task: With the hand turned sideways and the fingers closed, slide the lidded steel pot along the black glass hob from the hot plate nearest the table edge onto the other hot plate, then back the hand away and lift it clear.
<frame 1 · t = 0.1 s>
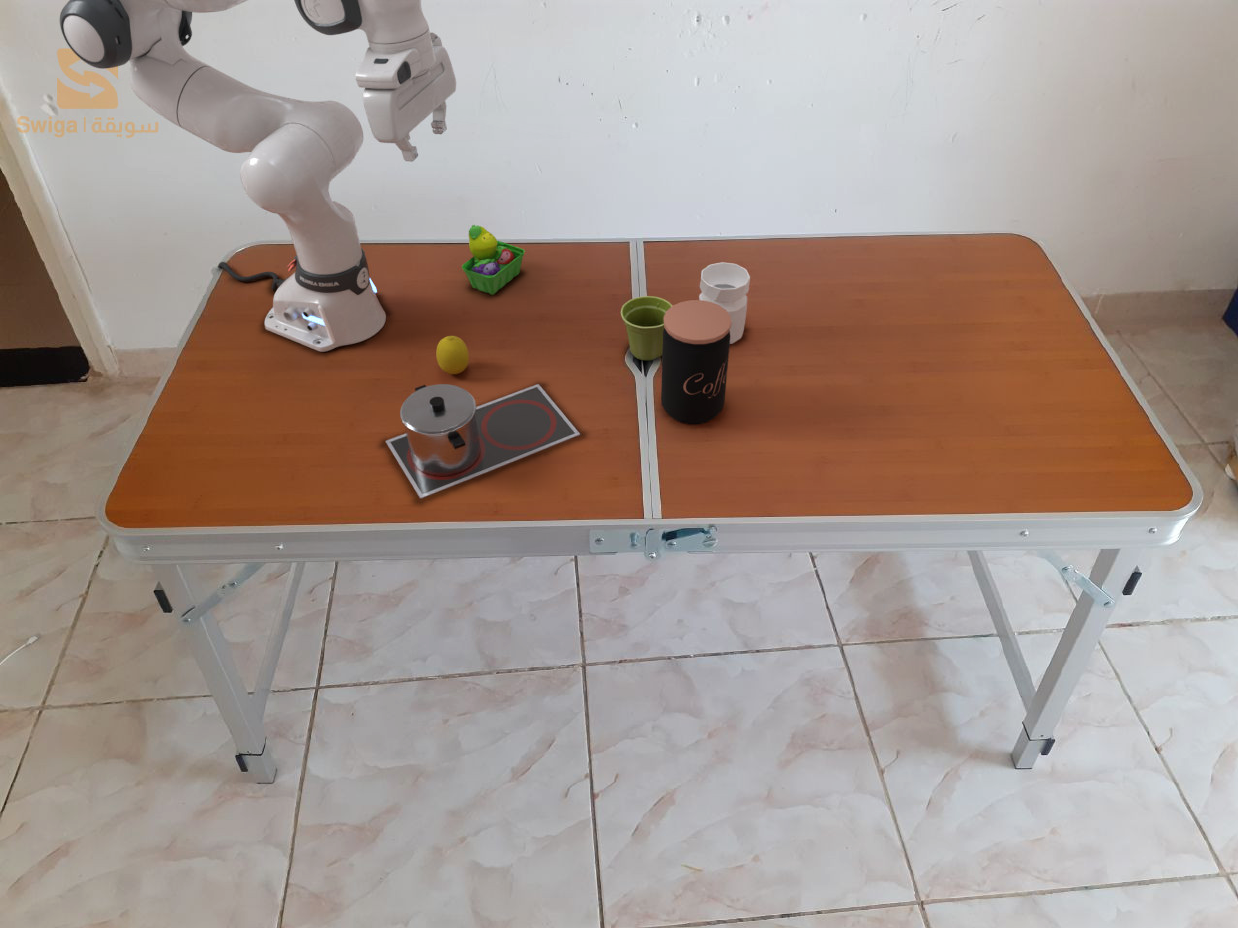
hand: (426, 145, 147), 39 cm above the table, tool pointing down, fingers open, 8 cm apart
lemon: (455, 374, 169), on the table
plant pot: (647, 351, 173), on the table
fruit basket: (493, 280, 190), on the table
hob: (483, 439, 156), on the table
vase: (720, 332, 177), on the table
coffee jar: (692, 407, 162), on the table
steel pot: (446, 452, 154), resting on hob
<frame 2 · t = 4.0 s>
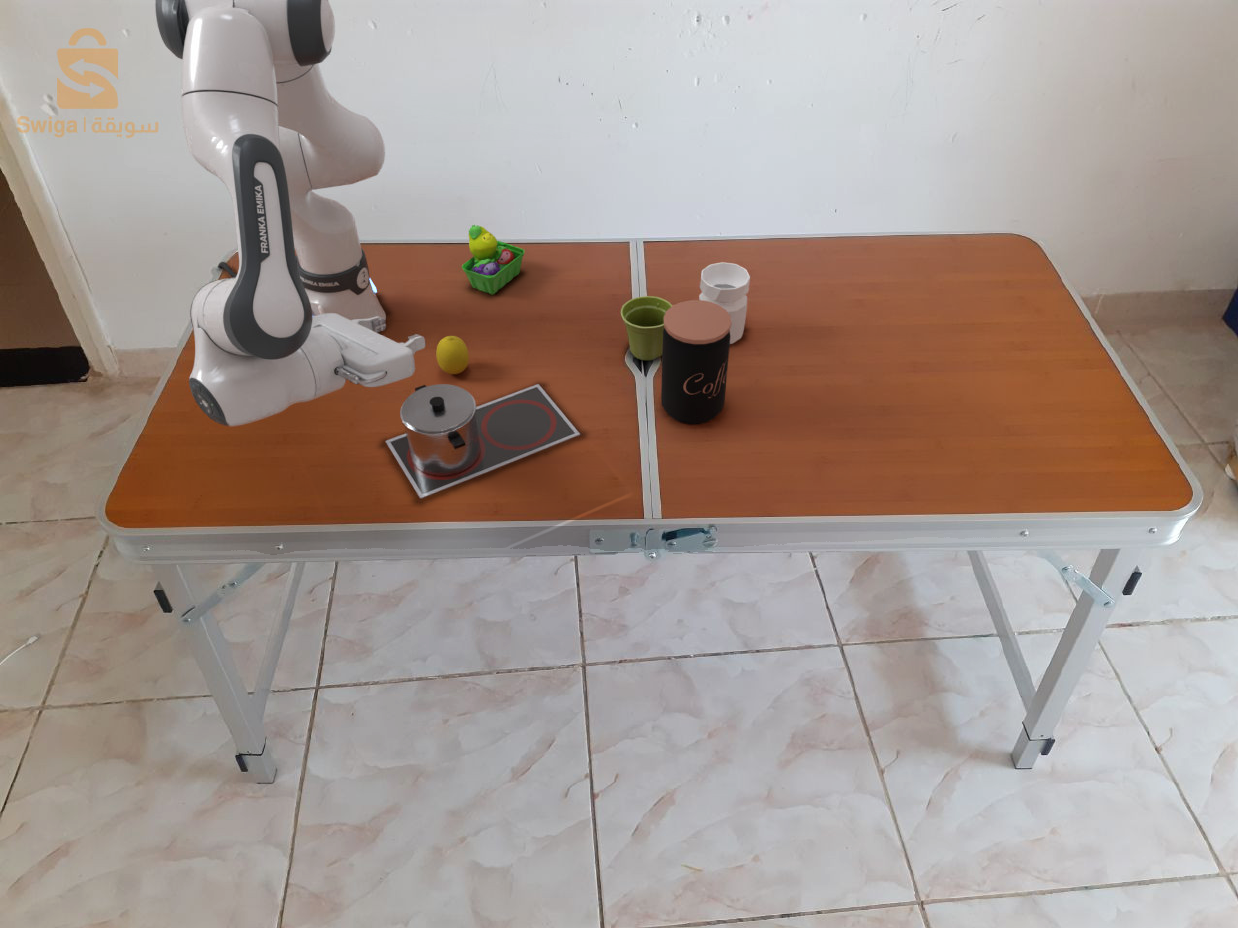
hand: (402, 331, 137), 25 cm above the table, tool horizontal, fingers open, 8 cm apart
nothing on the table moved.
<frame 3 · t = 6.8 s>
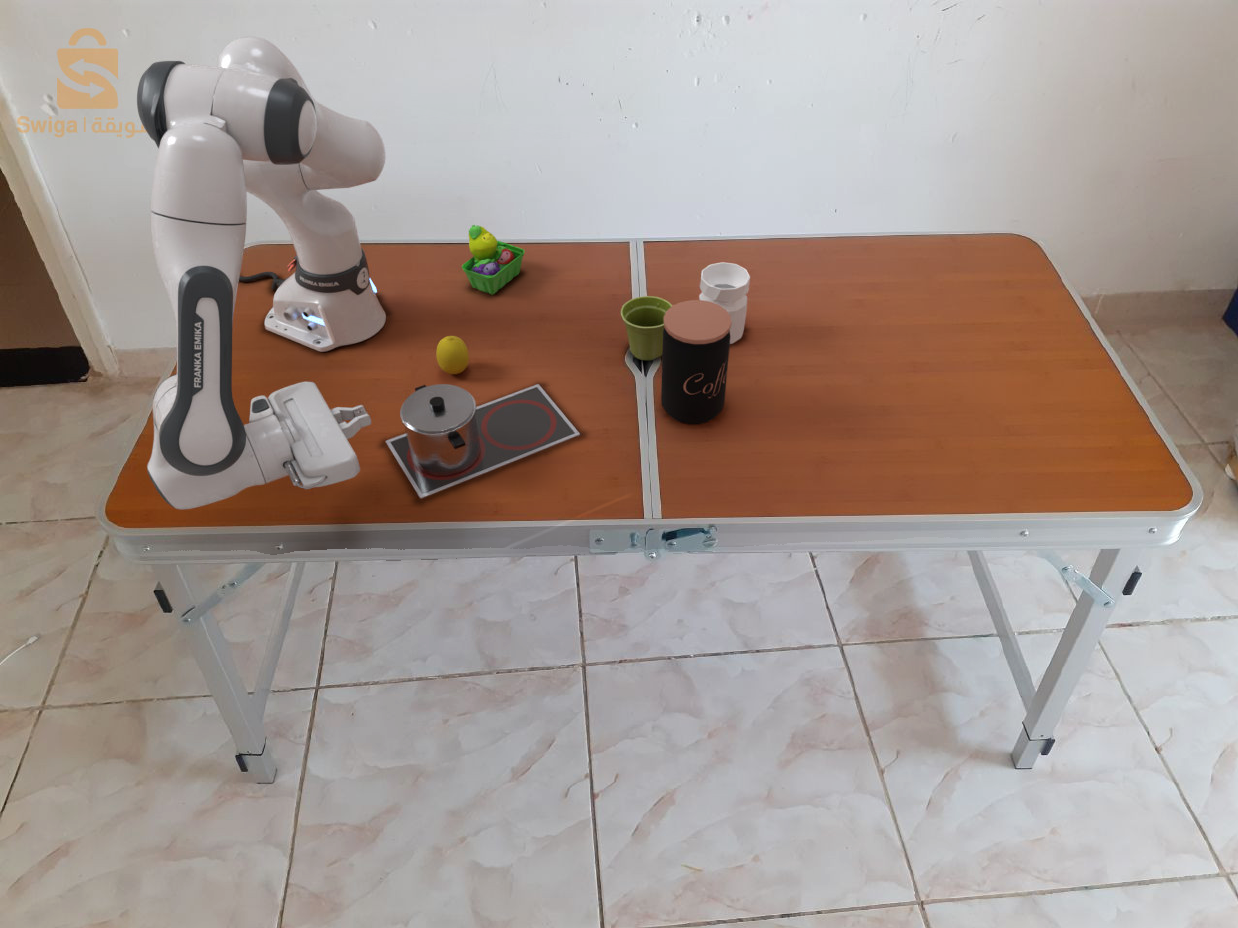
hand: (367, 414, 141), 14 cm above the table, tool horizontal, fingers closed
nothing on the table moved.
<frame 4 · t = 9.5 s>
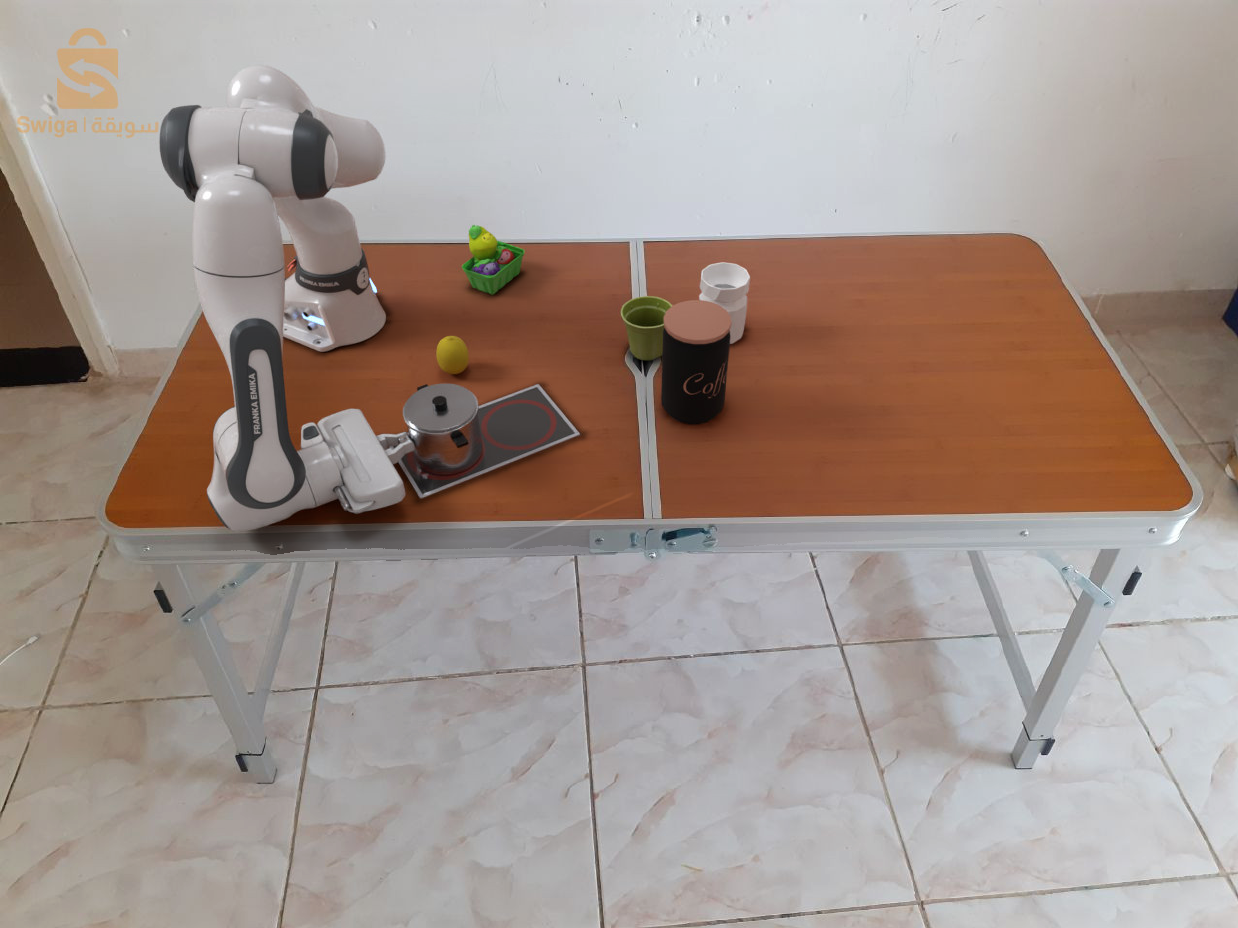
hand: (411, 440, 148), 6 cm above the table, tool horizontal, fingers closed, pressing on steel pot
steel pot: (448, 451, 154), resting on hob, touching gripper
everything else where it was.
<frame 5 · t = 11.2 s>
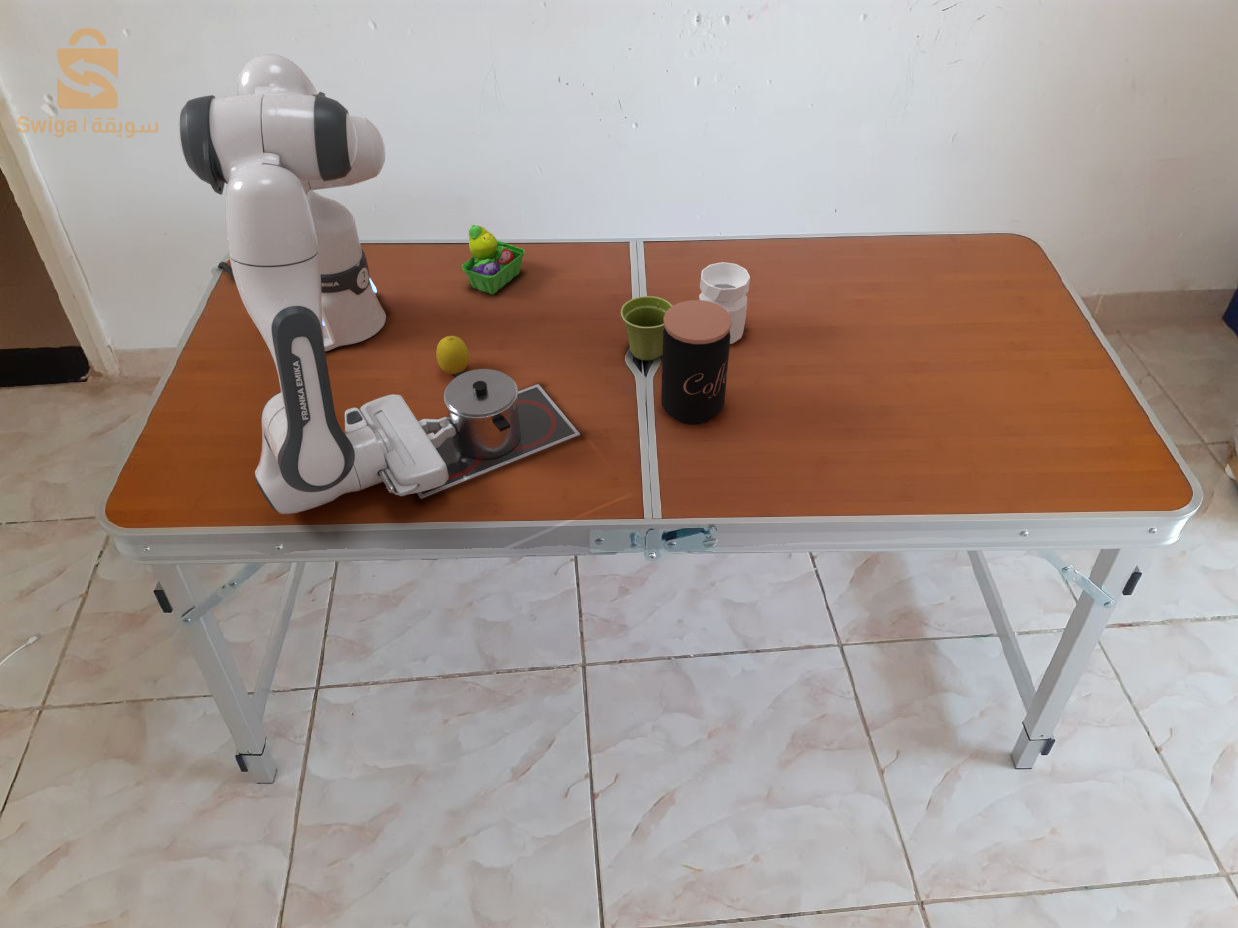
hand: (451, 425, 151), 5 cm above the table, tool horizontal, fingers closed, pressing on steel pot
steel pot: (487, 436, 156), resting on hob, touching gripper
everything else where it was.
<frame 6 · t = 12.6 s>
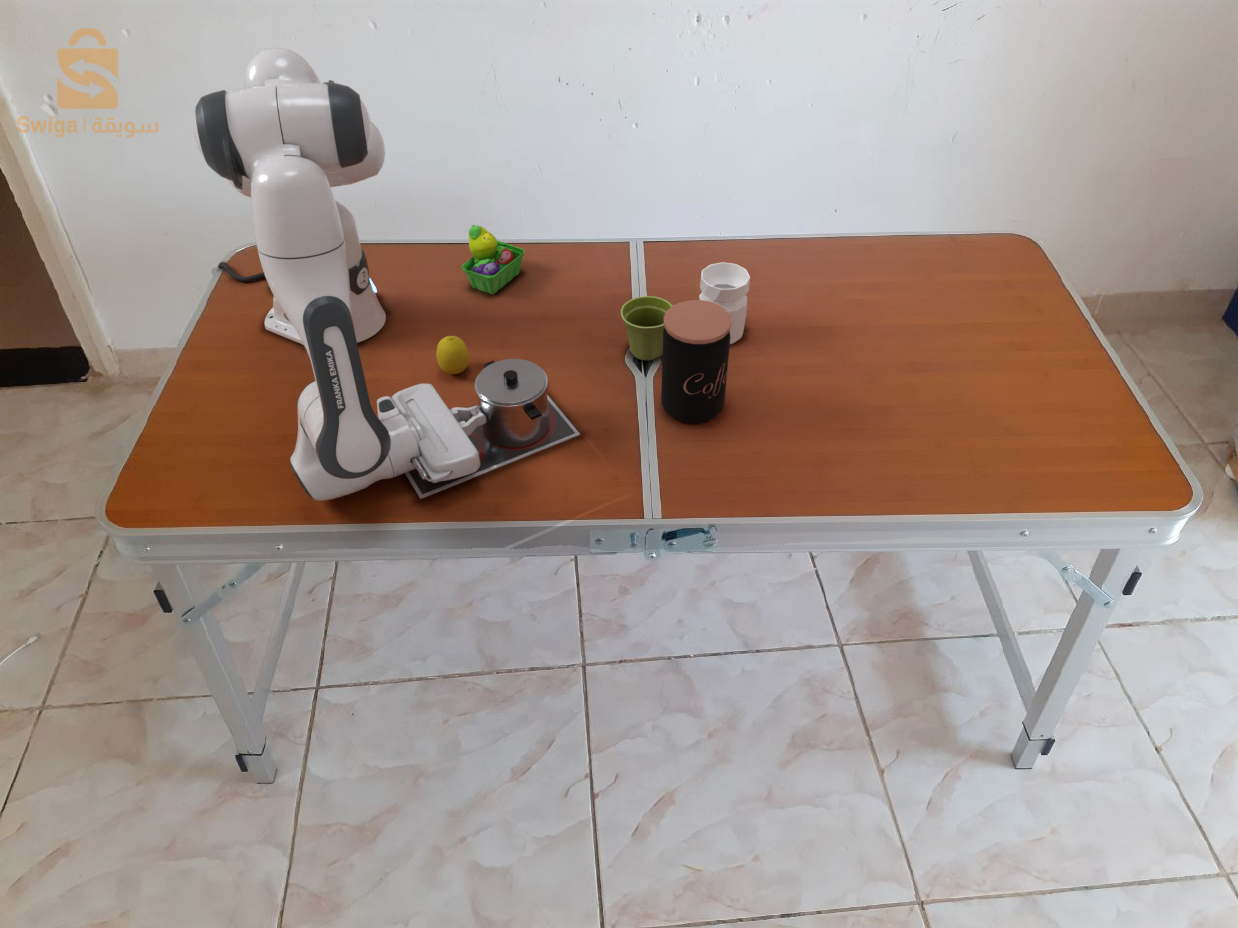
hand: (482, 413, 153), 6 cm above the table, tool horizontal, fingers closed, pressing on steel pot
steel pot: (516, 425, 158), resting on hob, touching gripper
everything else where it was.
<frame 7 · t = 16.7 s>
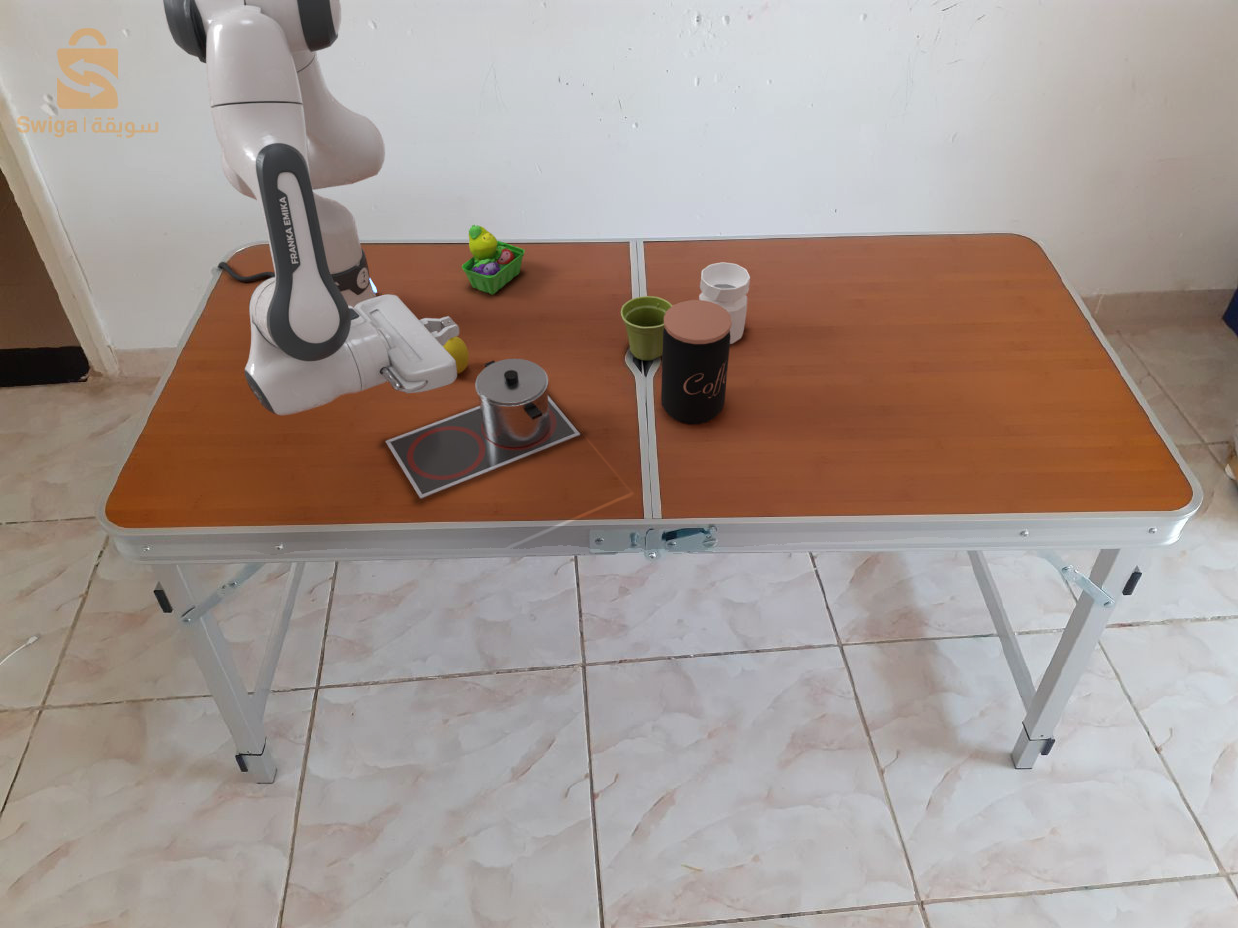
hand: (454, 325, 141), 23 cm above the table, tool horizontal, fingers closed
steel pot: (516, 425, 158), resting on hob
everything else where it was.
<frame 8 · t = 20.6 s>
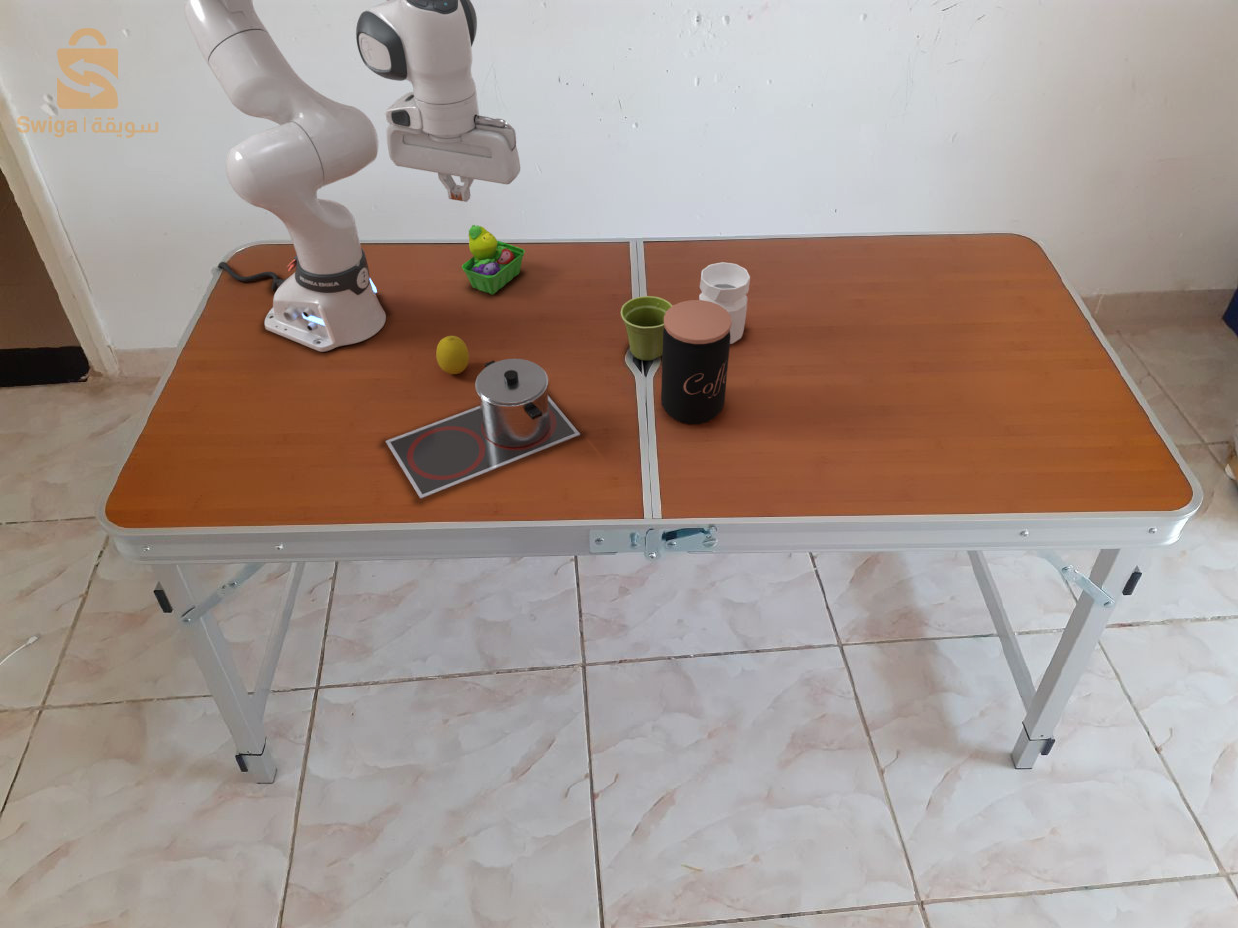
hand: (459, 199, 147), 33 cm above the table, tool pointing down, fingers closed
nothing on the table moved.
at the end: steel pot 0.5 cm from the target spot on the hob, point 0.4 cm above the hob's base; steel pot tilted 0° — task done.
